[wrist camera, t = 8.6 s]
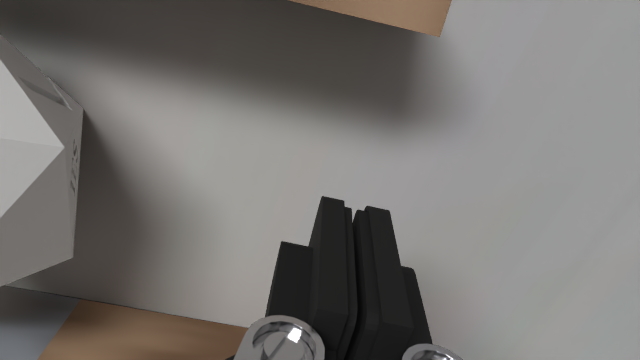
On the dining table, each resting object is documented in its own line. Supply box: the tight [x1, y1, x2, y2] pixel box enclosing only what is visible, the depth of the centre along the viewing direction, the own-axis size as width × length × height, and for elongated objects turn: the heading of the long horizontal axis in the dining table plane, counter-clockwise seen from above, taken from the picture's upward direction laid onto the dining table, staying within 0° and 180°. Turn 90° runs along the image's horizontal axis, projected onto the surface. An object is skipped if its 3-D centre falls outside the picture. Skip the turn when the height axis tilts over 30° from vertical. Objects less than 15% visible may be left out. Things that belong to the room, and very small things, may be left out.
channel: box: [0, 0, 452, 360], centre depth 15 cm, size 18×16×4 cm
